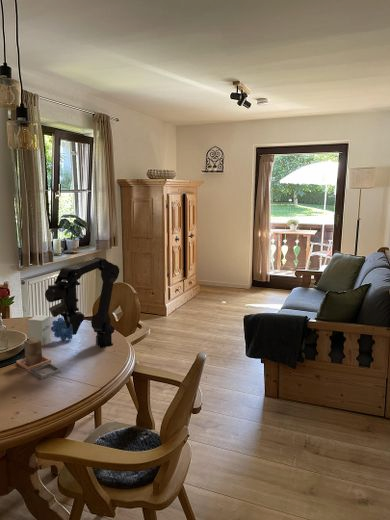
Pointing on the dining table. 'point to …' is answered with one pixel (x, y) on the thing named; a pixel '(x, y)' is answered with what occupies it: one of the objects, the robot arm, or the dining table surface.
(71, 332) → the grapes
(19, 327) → the dining table surface
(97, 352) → the dining table surface
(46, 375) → the grey metal socket
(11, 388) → the dining table surface
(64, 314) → the robot arm
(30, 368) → the terracotta socket
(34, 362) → the walnut plug block
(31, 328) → the supplement box
